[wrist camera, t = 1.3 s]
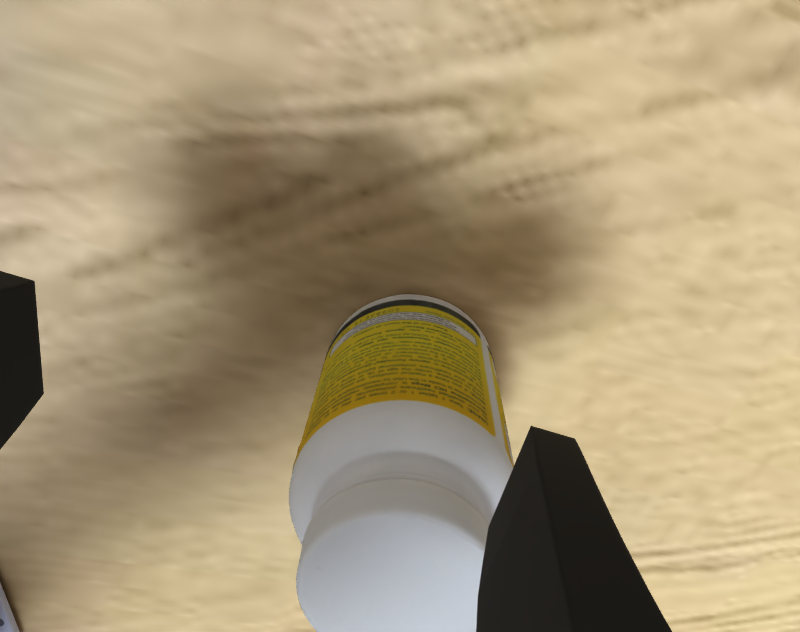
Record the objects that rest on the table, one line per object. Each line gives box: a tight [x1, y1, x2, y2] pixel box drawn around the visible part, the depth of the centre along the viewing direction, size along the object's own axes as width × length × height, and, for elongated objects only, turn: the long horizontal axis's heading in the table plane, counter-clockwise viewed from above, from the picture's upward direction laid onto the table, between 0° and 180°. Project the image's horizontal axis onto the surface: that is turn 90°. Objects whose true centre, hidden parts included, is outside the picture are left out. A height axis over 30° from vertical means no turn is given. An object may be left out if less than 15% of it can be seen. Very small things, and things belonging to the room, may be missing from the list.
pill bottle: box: [289, 294, 514, 632], centre depth 20 cm, size 6×6×11 cm
